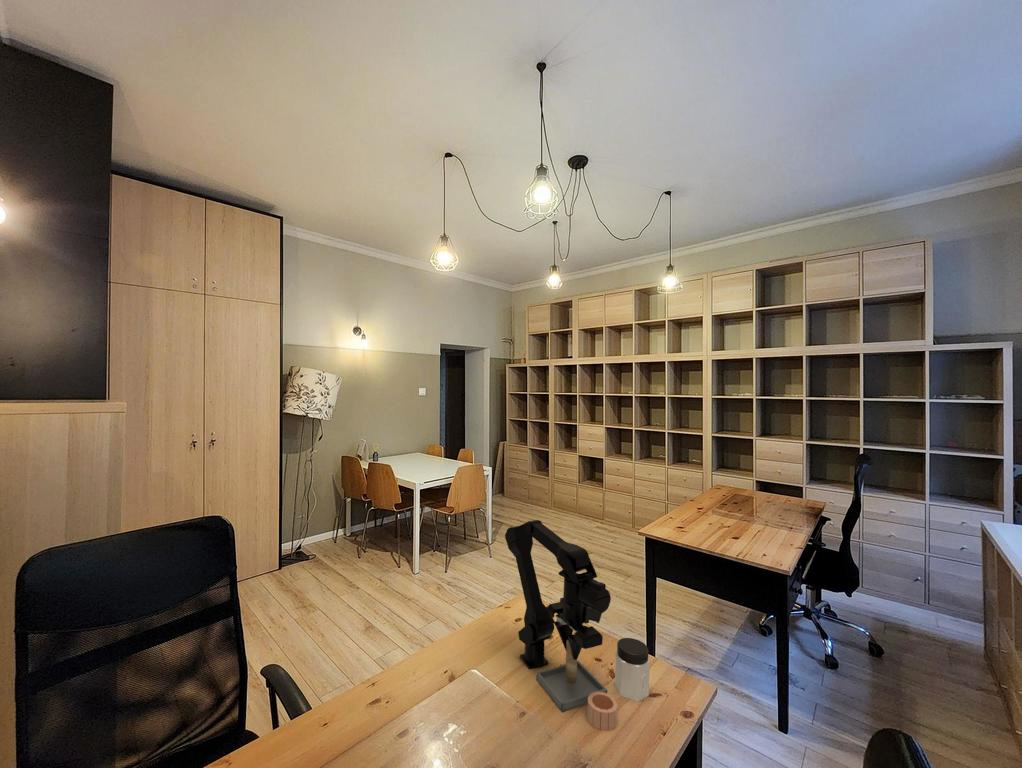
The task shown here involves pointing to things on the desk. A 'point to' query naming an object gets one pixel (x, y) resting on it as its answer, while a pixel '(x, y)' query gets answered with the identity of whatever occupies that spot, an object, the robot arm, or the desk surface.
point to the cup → (602, 711)
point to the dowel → (570, 666)
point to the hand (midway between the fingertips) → (571, 655)
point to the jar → (632, 669)
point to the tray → (569, 686)
